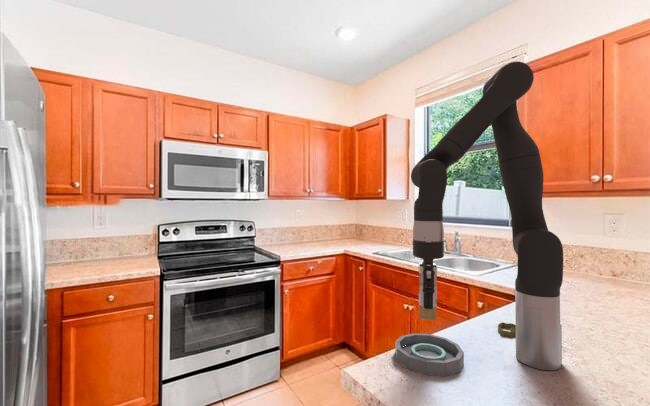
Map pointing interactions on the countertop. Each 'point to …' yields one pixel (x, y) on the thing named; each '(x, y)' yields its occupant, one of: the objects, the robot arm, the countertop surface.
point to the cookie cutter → (508, 326)
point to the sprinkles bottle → (423, 313)
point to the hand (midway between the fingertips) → (427, 305)
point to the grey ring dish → (429, 354)
